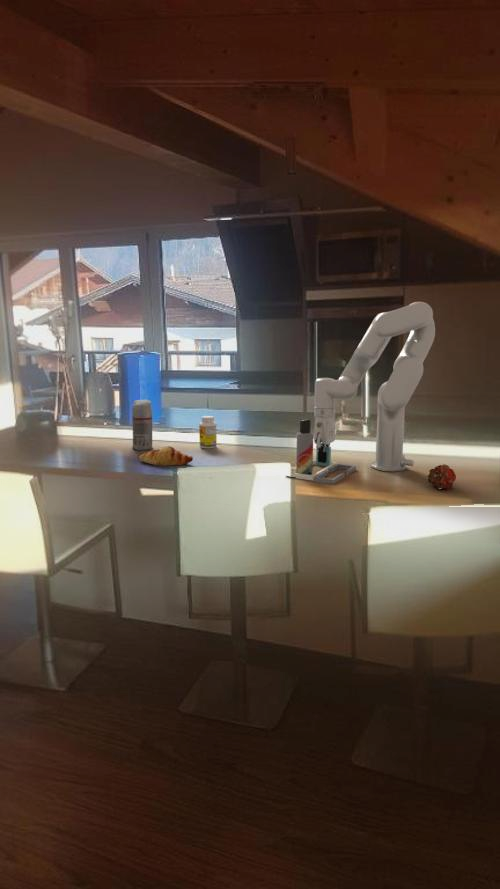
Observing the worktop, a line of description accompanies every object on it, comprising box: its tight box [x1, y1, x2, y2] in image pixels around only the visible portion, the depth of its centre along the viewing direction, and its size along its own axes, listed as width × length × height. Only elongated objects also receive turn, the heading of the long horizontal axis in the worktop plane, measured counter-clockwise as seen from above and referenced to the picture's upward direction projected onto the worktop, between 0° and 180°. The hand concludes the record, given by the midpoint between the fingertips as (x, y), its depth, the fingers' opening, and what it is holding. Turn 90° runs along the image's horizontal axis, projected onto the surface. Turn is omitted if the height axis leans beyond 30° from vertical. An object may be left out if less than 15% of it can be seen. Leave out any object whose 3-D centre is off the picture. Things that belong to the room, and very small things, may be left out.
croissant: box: [138, 445, 194, 467], centre depth 250 cm, size 21×10×8 cm
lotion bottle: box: [295, 418, 314, 475], centre depth 231 cm, size 6×6×20 cm
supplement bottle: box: [199, 415, 217, 450], centre depth 277 cm, size 7×7×13 cm
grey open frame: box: [313, 463, 357, 485], centre depth 234 cm, size 7×22×2 cm, turn 152°
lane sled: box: [294, 446, 338, 482], centre depth 238 cm, size 10×22×7 cm, turn 152°
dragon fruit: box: [427, 463, 457, 489], centre depth 218 cm, size 8×8×12 cm
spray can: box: [131, 398, 153, 451], centre depth 274 cm, size 8×8×20 cm
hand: (323, 461), depth 248 cm, fingers closed on lane sled
